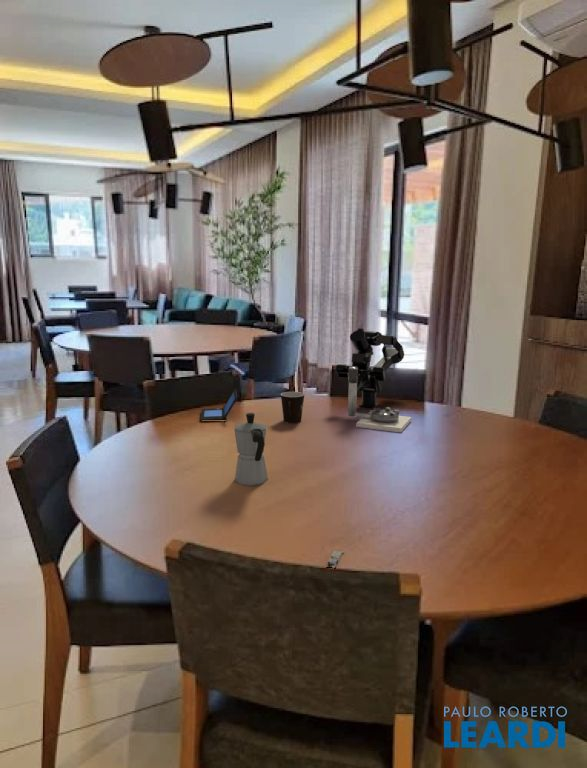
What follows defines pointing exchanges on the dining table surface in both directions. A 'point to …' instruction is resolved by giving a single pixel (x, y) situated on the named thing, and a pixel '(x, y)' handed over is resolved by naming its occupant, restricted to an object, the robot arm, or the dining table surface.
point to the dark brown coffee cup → (292, 406)
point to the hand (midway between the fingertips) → (355, 390)
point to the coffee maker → (250, 452)
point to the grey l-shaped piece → (374, 414)
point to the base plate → (384, 424)
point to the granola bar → (334, 558)
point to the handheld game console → (219, 410)
